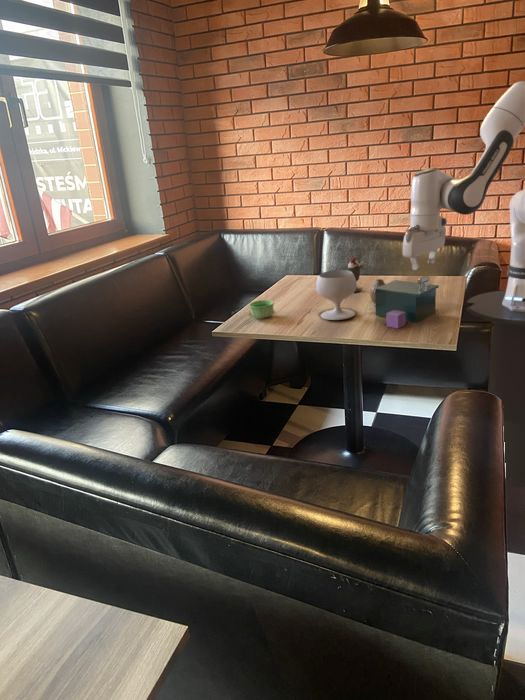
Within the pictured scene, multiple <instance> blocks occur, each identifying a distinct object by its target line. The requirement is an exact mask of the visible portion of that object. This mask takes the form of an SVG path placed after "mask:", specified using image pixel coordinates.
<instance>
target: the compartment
mask: <svg viewBox="0 0 525 700" xmlns="http://www.w3.org/2000/svg"><path fill="white" fill-rule="evenodd" d="M436 299H437V289H435V290H432V291H430V292H428V293H426V294H424V295H422V296H419V297H417V296H409V295H402V294H395V293H388V292H381V291H375V302H376V304H375V316H378V317H383V318H386V313H388V312H391V311H393V310H397V311H403V312H406V322H411V323H418V322H420V321H422V320H424V319H426V318H428V317H429V316H431V315H433V314H435V313H436V302H437V301H436Z"/></svg>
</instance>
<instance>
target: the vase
mask: <svg viewBox="0 0 525 700" xmlns="http://www.w3.org/2000/svg"><path fill="white" fill-rule="evenodd" d="M385 284H386V283H385V282H384V279H382V278H378V279H376V280H375V282H374V283H373V284H372V286H371V288H370V293H369V296H370V300H371V301H372V303H374V305H376V302H375V288H378V287H380V286H383V285H385Z"/></svg>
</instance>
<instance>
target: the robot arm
mask: <svg viewBox="0 0 525 700" xmlns="http://www.w3.org/2000/svg"><path fill="white" fill-rule="evenodd" d="M524 128H525V80H520V81H516V82H515V83H513V84H512V85H511V86H510V87H509V88H508V89H506V91H505V92H503V94H502V95H501V97H499V99H498V100H497V101H496V102H495V104H494V105H493V106H492V107H491V109H490V110H489V112H488V113H487V115H486V116H485V117H484V120H483V121H482V123H481V126H480V127H479V134H480V138H481V140H482V142H483V143H484V145H485V149H484V152H483V153H482V154H481V157H480V158H479V160H478V161H477V163H476V165H475V166H474V168H473V170H472V171H471V173H470V174H468V175H467V176H465V177H463V178H460V177H455V176H452V175H450V174H447V173H445V172H442V171H441V170H440V169H439V168H437V167H430V168H425V169H421V170H418V171H417V172H415V174H414V175H413V177H412V180H411V186H410V187H411V188H410V203H411V209H410V215H409V216H410V217H409V218H410V219H409V220H410V223H409V227H408V229H407V231H406V232H405V234H404V236H403V243H402V256H403V257H404V258H408V259H409V260H410V263H411V269H412V270H413V271H417V270H420V269H421V268H420V265H421V264H420V263H419V261H418V260H419V257H420V256H422V255H425V254H427V253H429V256H428V258H427V264H429V265H433V264H435V263H436V256H437V254H438V250H439V249H441V248H444V246H445V243H446V234H447V231H446V230H447V229H446V226H447V224H448V219H447V218H446V217H443V216H441V210H442V209H445V210H447V211H452V212H455V213H457V214H459V215H464V216H468V215H471V214H474V213H475V212H477V211H478V210H479V209H480V208H481V207H482V206H483V204H484V202H485V199H486V196H487V192H488V190H489V187H490V185H491V184H492V182H493V180H494V179H495V177H496V175H497V174H498V172H499V170H501V168H502V166H503V164H504V163H505V161H506V159H507V158H508V156H509V154H510V153H511V151H512V148H513V145H514V142H515V141H516V139H517V137H518V136H519V135H520V133H521V132H522V130H523V129H524ZM508 206H509V226H510V227H509V229H510V257H509V258H510V259H509V264H508V265H507V266H508V267H507V273H506V274H507V284H506V289H505V290H506V293H505V296H504V299H503V302H502V305H503V306H505V307H507V308H509V309H510V310H511V311H517V312H525V188H524V189H521V190H519V191H517V192H515V193H514V194H513V195H512V197H511V198H510V200H509V205H508Z"/></svg>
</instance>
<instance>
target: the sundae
mask: <svg viewBox="0 0 525 700" xmlns="http://www.w3.org/2000/svg"><path fill="white" fill-rule="evenodd" d="M353 256H354V254H352V255H351V260H350V261H349V263H348V264H347V265H346V266H345V268H346V270H347V271H351V272H352V273H353V274H354V276H355V279H356V283H357V282H358V281H359V280H360V277H361V268H363V265H362V264H361V261H360V260H358V259H356V258H355V257H353ZM361 290H362V289H361V288H358V287H357V288H356V290H355V292H354V293H358V292H361Z"/></svg>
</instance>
